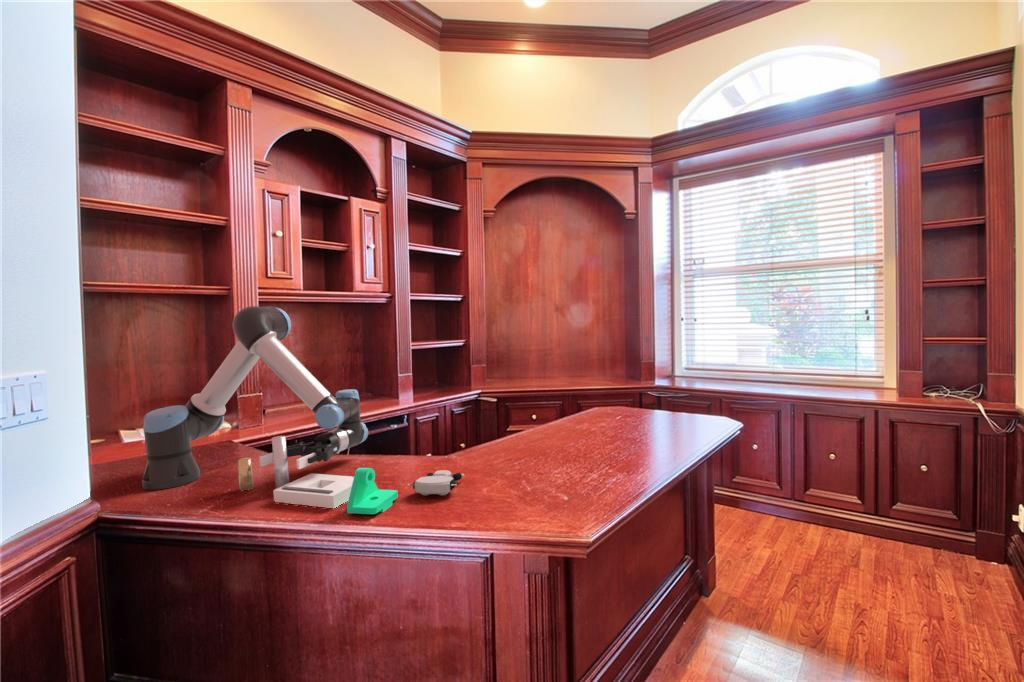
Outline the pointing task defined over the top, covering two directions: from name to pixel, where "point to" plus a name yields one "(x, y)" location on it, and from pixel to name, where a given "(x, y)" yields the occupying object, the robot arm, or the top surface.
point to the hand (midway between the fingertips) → (278, 463)
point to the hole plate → (316, 490)
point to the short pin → (245, 473)
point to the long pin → (280, 461)
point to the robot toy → (436, 483)
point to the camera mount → (368, 494)
